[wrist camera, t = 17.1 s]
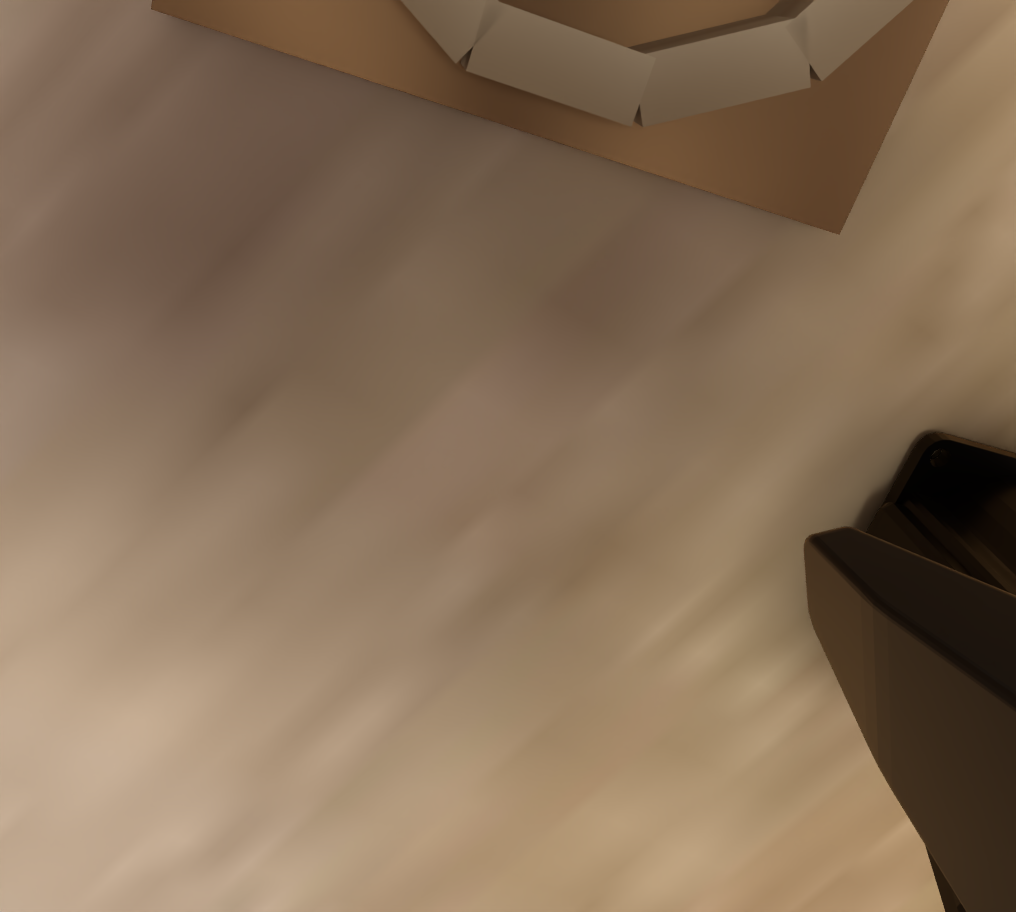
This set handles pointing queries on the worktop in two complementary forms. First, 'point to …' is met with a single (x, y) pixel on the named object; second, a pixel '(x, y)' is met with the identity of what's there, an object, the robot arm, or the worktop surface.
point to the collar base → (638, 78)
